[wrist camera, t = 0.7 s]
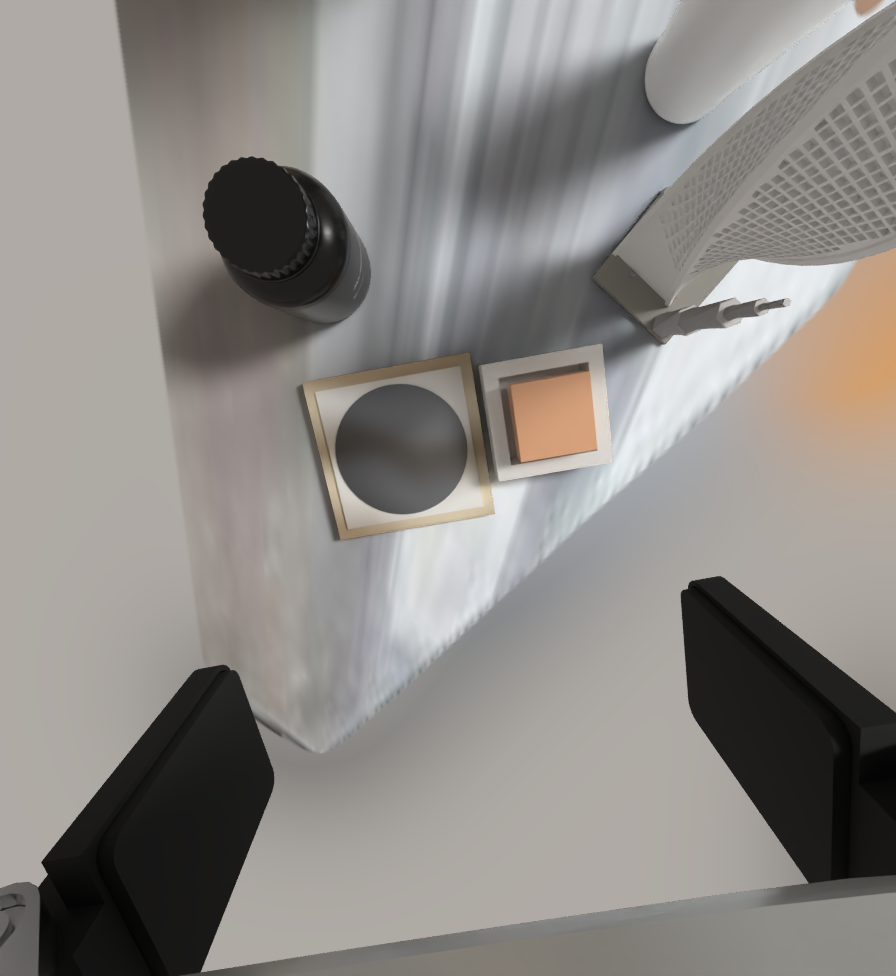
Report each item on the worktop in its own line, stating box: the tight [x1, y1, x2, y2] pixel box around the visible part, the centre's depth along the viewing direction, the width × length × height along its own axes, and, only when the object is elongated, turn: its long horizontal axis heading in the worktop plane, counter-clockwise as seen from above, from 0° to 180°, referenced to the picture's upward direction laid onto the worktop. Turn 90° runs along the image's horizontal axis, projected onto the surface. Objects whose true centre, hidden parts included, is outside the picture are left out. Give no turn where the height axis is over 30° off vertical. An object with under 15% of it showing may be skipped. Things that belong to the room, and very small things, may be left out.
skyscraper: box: [592, 1, 896, 344], centre depth 19 cm, size 8×8×28 cm
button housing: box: [478, 344, 613, 482], centre depth 34 cm, size 8×8×3 cm
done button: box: [507, 371, 597, 462], centre depth 31 cm, size 5×5×2 cm
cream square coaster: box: [302, 352, 495, 540], centre depth 35 cm, size 12×12×1 cm
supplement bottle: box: [203, 156, 371, 324], centre depth 27 cm, size 7×7×12 cm
